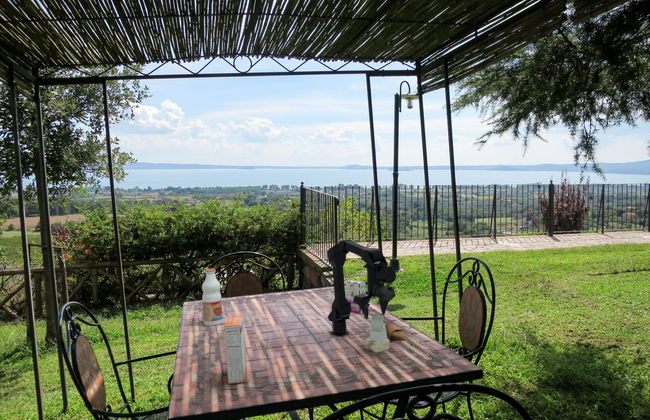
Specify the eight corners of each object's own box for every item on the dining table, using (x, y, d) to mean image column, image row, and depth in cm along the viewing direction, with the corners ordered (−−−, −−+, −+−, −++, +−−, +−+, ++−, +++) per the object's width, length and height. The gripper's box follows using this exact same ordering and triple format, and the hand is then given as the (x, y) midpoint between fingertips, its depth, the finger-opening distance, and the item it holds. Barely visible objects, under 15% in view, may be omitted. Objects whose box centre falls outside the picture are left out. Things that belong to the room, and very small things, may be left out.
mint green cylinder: (369, 329, 197) (368, 318, 197) (376, 327, 200) (376, 315, 200) (378, 332, 194) (377, 320, 193) (385, 329, 197) (385, 317, 197)
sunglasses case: (409, 340, 205) (401, 327, 205) (395, 349, 205) (387, 336, 205) (403, 328, 223) (395, 316, 223) (390, 336, 223) (382, 324, 223)
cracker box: (231, 369, 181) (228, 314, 180) (247, 368, 182) (244, 313, 181) (226, 384, 167) (223, 325, 166) (244, 383, 168) (241, 324, 167)
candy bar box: (367, 312, 253) (366, 281, 252) (360, 314, 250) (359, 283, 249) (352, 308, 262) (351, 279, 261) (345, 310, 259) (344, 280, 258)
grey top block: (370, 340, 197) (369, 330, 196) (375, 336, 201) (375, 327, 201) (380, 342, 194) (380, 332, 194) (386, 338, 198) (386, 329, 198)
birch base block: (365, 348, 199) (365, 339, 198) (378, 345, 202) (378, 335, 202) (376, 353, 193) (376, 343, 192) (389, 349, 196) (389, 339, 196)
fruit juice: (207, 321, 249) (204, 267, 248) (224, 320, 249) (222, 267, 247) (201, 326, 240) (198, 271, 239) (219, 326, 239) (216, 270, 238)
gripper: (370, 286, 185) (371, 325, 186) (404, 279, 196) (405, 316, 197) (351, 282, 194) (353, 319, 195) (385, 275, 205) (386, 311, 206)
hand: (375, 316), depth 198 cm, fingers open, 9 cm apart
